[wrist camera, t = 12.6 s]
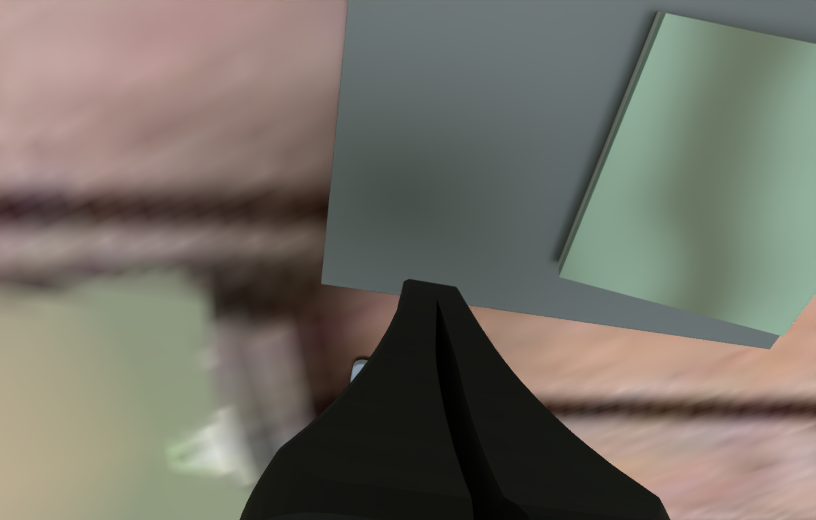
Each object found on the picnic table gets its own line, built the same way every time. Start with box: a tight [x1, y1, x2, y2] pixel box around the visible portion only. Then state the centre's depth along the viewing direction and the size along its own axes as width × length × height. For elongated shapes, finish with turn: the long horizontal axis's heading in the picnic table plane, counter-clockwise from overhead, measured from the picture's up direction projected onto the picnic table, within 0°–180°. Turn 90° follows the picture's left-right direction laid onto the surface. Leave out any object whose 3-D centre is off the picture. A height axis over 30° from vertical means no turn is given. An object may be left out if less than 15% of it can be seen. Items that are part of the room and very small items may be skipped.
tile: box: [558, 11, 816, 336], centre depth 18 cm, size 9×10×1 cm
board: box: [321, 0, 816, 349], centre depth 19 cm, size 16×22×1 cm
